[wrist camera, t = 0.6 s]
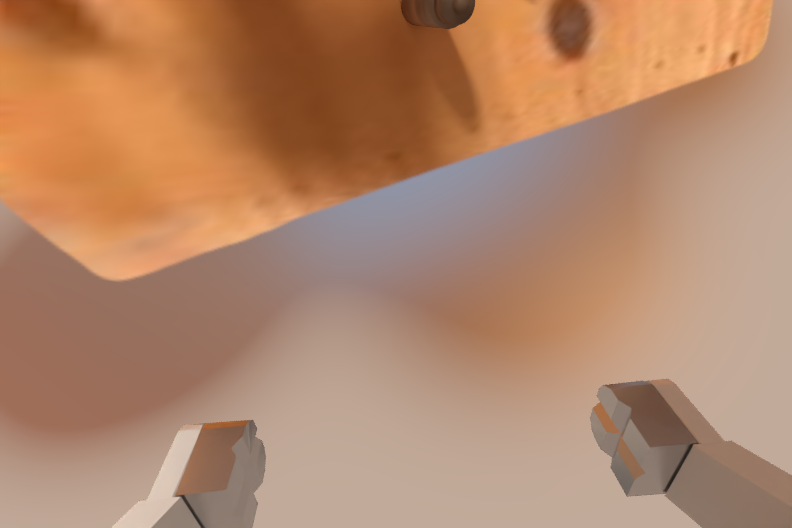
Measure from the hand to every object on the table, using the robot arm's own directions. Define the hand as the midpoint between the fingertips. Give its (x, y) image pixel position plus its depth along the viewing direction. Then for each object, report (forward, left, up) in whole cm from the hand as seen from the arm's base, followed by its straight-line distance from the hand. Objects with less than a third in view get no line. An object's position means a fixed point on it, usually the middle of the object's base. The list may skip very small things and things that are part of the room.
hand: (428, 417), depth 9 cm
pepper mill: (-13, +12, -45) cm, 48 cm away
